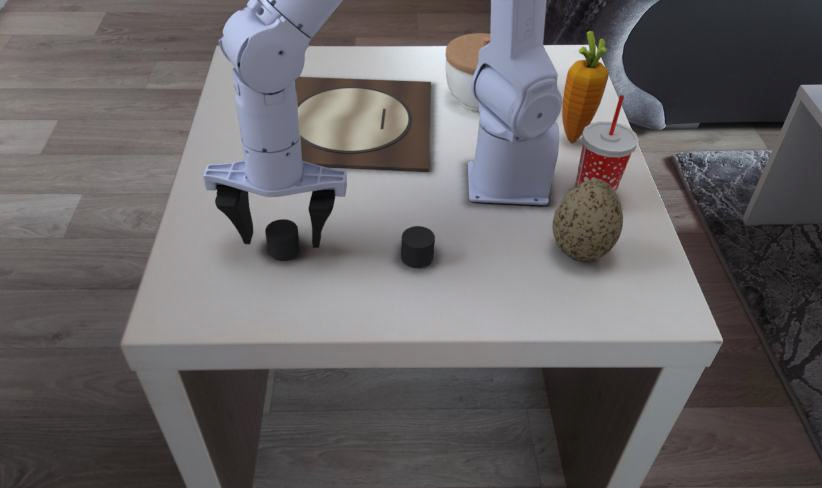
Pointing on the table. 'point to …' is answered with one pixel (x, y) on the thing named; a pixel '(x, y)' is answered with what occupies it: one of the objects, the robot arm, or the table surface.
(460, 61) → the trinket box
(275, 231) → the eye puck
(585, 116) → the carrot
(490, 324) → the table surface
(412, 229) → the eye puck
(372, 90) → the face board
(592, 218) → the decorative egg
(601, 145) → the beverage cup
